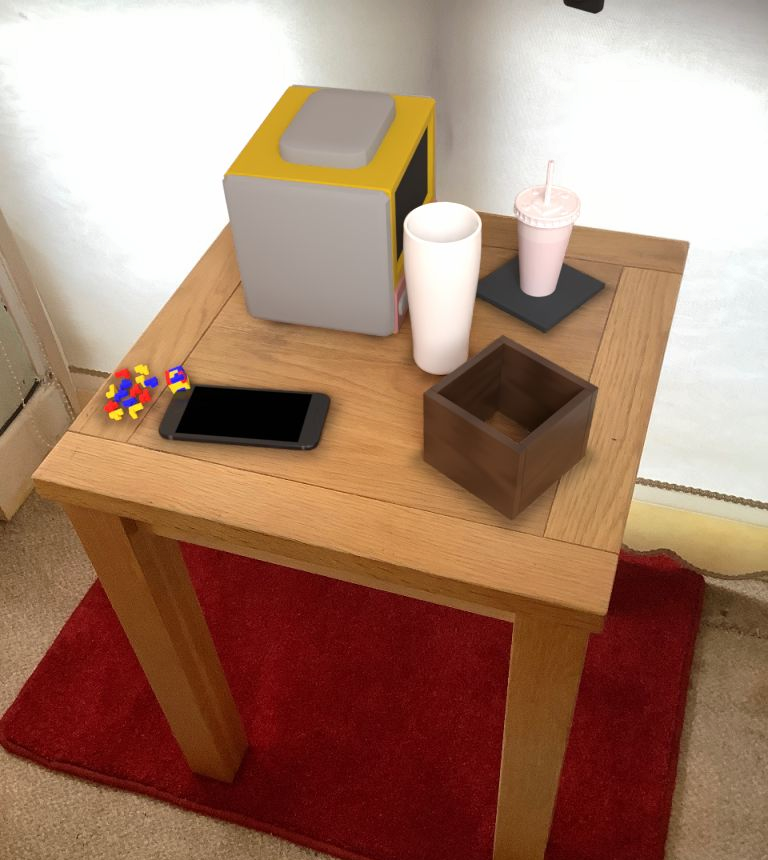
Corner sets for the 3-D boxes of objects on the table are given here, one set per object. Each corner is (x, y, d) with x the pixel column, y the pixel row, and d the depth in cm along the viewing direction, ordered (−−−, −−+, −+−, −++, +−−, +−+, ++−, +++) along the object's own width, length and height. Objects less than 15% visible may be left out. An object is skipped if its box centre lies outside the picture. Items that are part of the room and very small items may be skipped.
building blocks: (105, 422, 80) (114, 434, 81) (185, 391, 80) (193, 403, 81) (101, 377, 84) (110, 389, 85) (178, 347, 84) (185, 359, 85)
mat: (604, 288, 91) (605, 283, 91) (545, 333, 87) (545, 328, 86) (529, 251, 96) (529, 247, 95) (469, 292, 92) (469, 288, 91)
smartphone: (179, 386, 84) (177, 379, 83) (333, 397, 82) (332, 390, 81) (156, 441, 79) (153, 434, 78) (317, 455, 77) (316, 448, 76)
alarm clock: (398, 357, 85) (392, 182, 71) (247, 335, 88) (213, 163, 74) (442, 245, 97) (444, 77, 83) (307, 230, 100) (288, 64, 86)
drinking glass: (399, 378, 83) (394, 240, 72) (414, 333, 88) (412, 197, 76) (468, 387, 82) (475, 249, 71) (480, 342, 86) (488, 204, 75)
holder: (585, 456, 76) (599, 387, 70) (512, 520, 72) (519, 453, 65) (497, 402, 81) (502, 334, 74) (423, 460, 76) (422, 392, 70)
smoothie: (501, 299, 90) (511, 171, 79) (513, 264, 93) (524, 137, 83) (563, 308, 88) (582, 180, 77) (573, 272, 92) (592, 145, 81)
